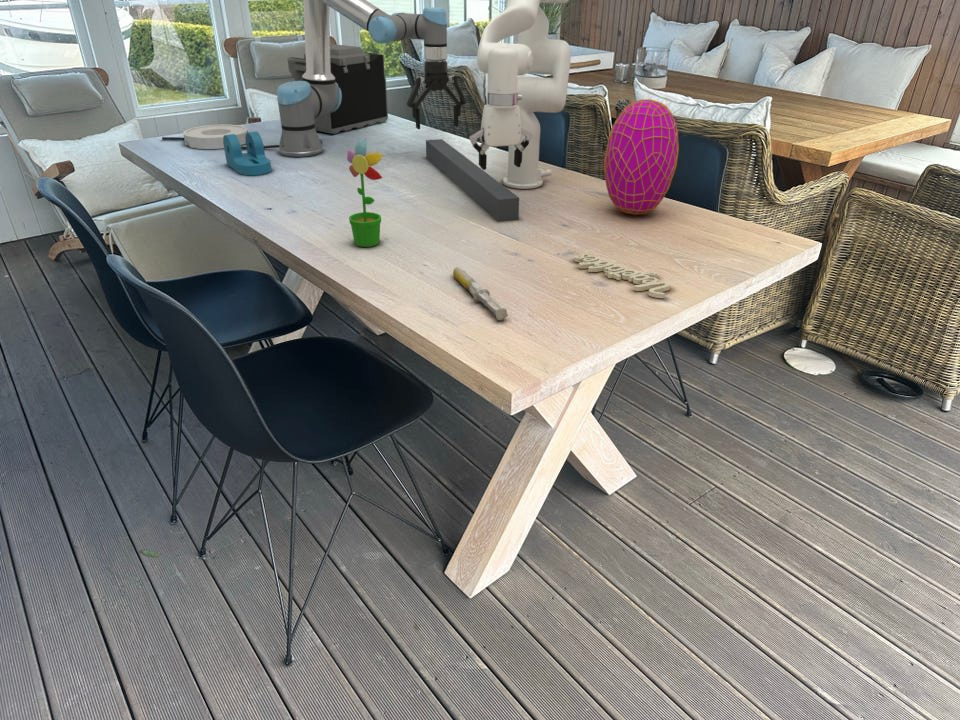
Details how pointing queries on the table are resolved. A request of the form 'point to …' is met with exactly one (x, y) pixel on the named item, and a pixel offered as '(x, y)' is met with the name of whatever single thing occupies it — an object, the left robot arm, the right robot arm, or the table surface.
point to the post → (474, 181)
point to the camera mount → (246, 154)
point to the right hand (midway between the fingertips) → (500, 167)
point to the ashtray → (213, 135)
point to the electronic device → (351, 88)
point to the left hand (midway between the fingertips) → (437, 127)
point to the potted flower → (364, 222)
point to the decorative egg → (641, 156)
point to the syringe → (479, 293)
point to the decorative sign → (625, 274)
